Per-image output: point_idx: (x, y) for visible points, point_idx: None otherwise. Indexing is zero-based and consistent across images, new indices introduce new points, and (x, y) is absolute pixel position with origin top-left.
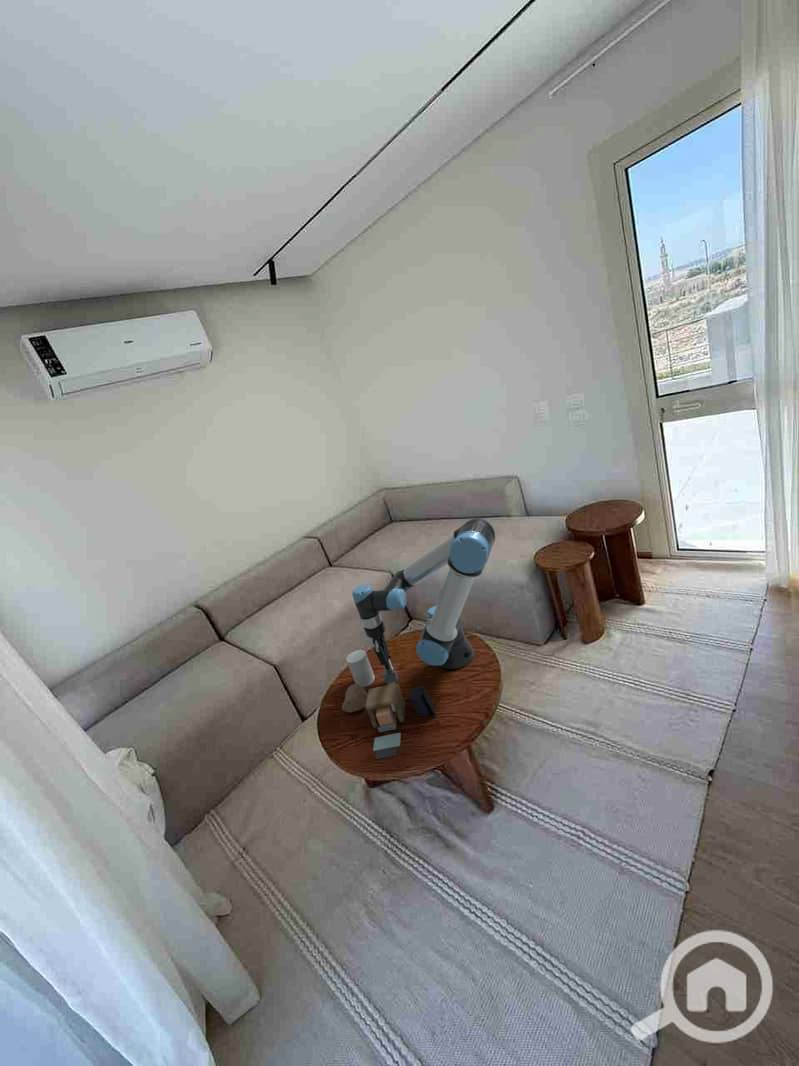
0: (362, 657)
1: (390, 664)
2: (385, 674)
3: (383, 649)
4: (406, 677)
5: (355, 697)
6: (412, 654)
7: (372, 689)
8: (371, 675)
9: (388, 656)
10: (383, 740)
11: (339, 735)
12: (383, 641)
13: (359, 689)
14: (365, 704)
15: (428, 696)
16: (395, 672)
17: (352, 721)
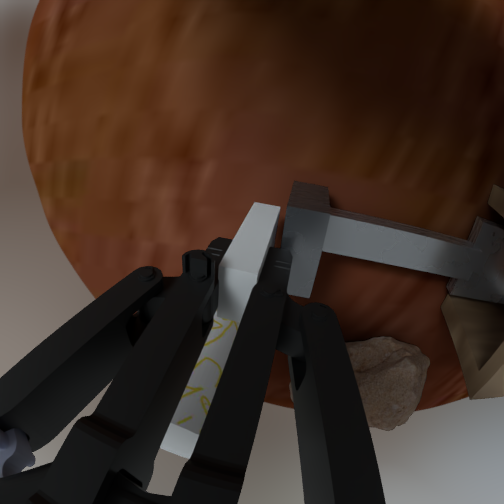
0: (194, 436)
1: (262, 251)
2: (312, 280)
3: (248, 460)
4: (291, 125)
5: (414, 409)
6: (96, 91)
7: (490, 385)
8: (230, 321)
9: (200, 284)
10: None
11: (447, 390)
12: (107, 485)
13: (395, 411)
14: (426, 357)
15: None
16: (309, 203)
17: (428, 370)
